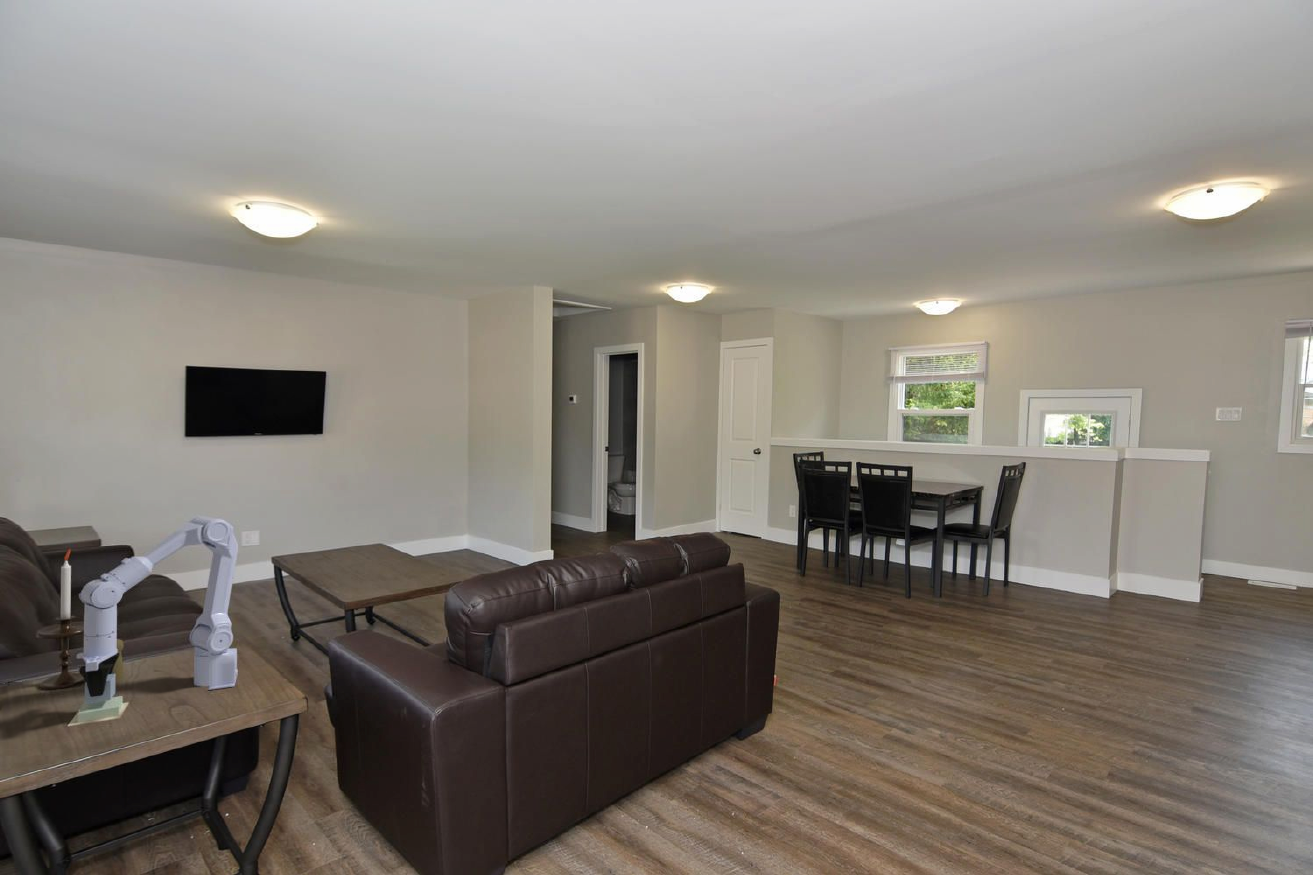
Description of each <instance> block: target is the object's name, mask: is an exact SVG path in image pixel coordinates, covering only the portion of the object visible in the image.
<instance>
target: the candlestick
mask: <svg viewBox="0 0 1313 875" xmlns="http://www.w3.org/2000/svg"><path fill="white" fill-rule="evenodd" d="M70 554H71V548H69V549H68V551H67V552H66V553H65V556H64V563H63V565H61V567H60V569H61V570H60V616H58V617H56V618H55V619H54V621H59V623H56V624H52V625H47V626H44V627H41V628H39V629H37V630H36V632H35V633H36V635H35V636H36V638H39V639H44V640H45V639H47V640H49V639H51V640H52V639H53V640H54V639H59V640H60V639H61V652H58V654H57V658H59V659H60V662H59V663H58V666H59V667H61V669H60V673H59V675H55V676H51V677H49V678H47V679H45V680H43V681H42V682H40V689H41V690H43V689H45V691H56V690H57V689H59V690H63V689H64V690H65V689H69V688H73V687H77V686H79V685H82V684H85V683H86V681H85V679H84V678H83V676H82V675H81V674H80V672H72V673H71V672H70V671H69V666H70V665H72V661H70V658H71V657H72V656H73V652H72V650H69V646H70V645H69V640H70V638H72V637H74V636H79V635H81V634H82V635H84V620H83V621H82V620H81V621H72V619H75V618H76V617H77V616H76V615H71V604H72V603H71V600H72V599H71V598H72V597H71V592H72V591H71V590H72V589H71V588H72V587H71V586H72V585H71V584H72V580H71V579H72V578H71V576H72V565H70V564H69V561H68V559H69V557H70ZM57 691H58V690H57Z"/></svg>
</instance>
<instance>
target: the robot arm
mask: <svg viewBox="0 0 1313 875" xmlns="http://www.w3.org/2000/svg"><path fill="white" fill-rule="evenodd" d="M234 528H235V527H234V526H232V525H231V524H230V523H229V522H228V521H226V520H225V519H222V518H214V517H208V516H205V515H199V516H195V517H193V518H191V519H190V520H189V521H187V522H185V523H183V524H181V525H180V526H179V528H178V529H177V530H176V531H174V532H173V533H171V534H170V535H169V536H167V537H166V538H164V539H163V540H162V541H161V542H159V543H158V544H157V545H155V546H154V547H152V548H151V549H150V550H149V551H148V552H147V551H146V553H145V554H143V555H141V556H131V557H130V558H127V557H126V558H123V560H121V561H120V563H121V564H119V565H118V566H117V567H115V568H114V569H112V570H111V571H109V572H108V573H103V574H101V575H100V576H99V577H100V579H94V580H90V581H89V582H88V583H86V584H85V585H84V586H83V589H82V590H81V592H80V593H78V598H79V599H80V601H81V602H82V603H83V604H84V615H83V621H84V633H83V652H79V653H77V654H76V659H83V661H84V662H85V665H83V666H80V667H79V668H78V671H79V672H78V673H80V674H81V675H82V676H83V678H84V679H85V681H86V682H85V683H86V684H87V687H88V690H89V694H90V696H91V697H95V696H102V695H103V693H104V690H105V685H106V680H107V676H108V674H112V672H113V668H114V666H115V663H116V661H117V659H118V657H119V656H120V653H117V652H118V649H117V639H118V638H117V637H118V636H117V635H118V634H117V632H118V631H117V629H118V628H117V627H118V626H117V625H118V618H117V617H118V606H117V604H118V603H119V602H120V601H121V599H123V595H124V593H126V592H128V591H129V590H130V589H132V588H133V587H134V586H136V585H138V584H139V583H141V582H142V581H143V580H145V579H146V578H148V577H149V576H150V575H151V574H152V572H153V568H154V567H155V566H156V565H157V564H159V563H161V562H162V561H164V560H165V559H167V558H168V557H171V555H173V554H175V553H176V552H178V551H180V550H182V549H183V548H184V547H187V546H197V545H199V546H200V545H204V546H205V547H206V548H207V549H208V550H210V551H211V553H212V559H211V563H210V564H211V565H210V569H209V570H210V571H209V576H208V580H207V586H206V587H207V588H206V591H205V592H206V593H205V598H204V603H203V610H202V613H201V614H200V615H199V616H198V617H197V618H196V621H195V622H196V623H195V626H194V627H193V629H192V630H191V631H190V633H189V641H190V643H191V645H192V646H194V652H193V653H194V655H193V657H194V658H193V659H194V660H193V662H194V663H193V684H194V686H196V687H208V691H210V690H212V691H213V690H218V689H225V688H230V687H235V685H236V681H237V677H238V673H239V670H238V649H237V648H236V647H235V648H233V647H232V648H230V647H231V645H232V644H233V640H234V635H233V632H232V626H233V624H232V621H231V619H230V617H229V615H228V613H229V612H228V611H229V606H230V600H231V594H232V587H233V582H234V577H235V571H236V565H237V558H238V554H239V544H238V541H237V539H236V536H235V534H234Z"/></svg>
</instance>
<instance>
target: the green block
mask: <svg viewBox="0 0 1313 875" xmlns="http://www.w3.org/2000/svg"><path fill="white" fill-rule="evenodd" d="M123 699H124V698H123V695H118V696H113V697H112V698H111V700H107V701H100V702H93V703H86V704H85V701H84V702H83V703H82V704H81V707H80V709H79V710H80V711H79V710H78V711H79V713H78V723H80V722H86V721H91V720H97V719H102V718H108V717H114V716H119V713H120V710H121V707H122V703H124V702H123Z"/></svg>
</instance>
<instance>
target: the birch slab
mask: <svg viewBox="0 0 1313 875" xmlns="http://www.w3.org/2000/svg"><path fill="white" fill-rule="evenodd" d="M129 703H130V702H129V701H127V702H123V703H122V707H121V710H120V713H119V716H114V717H108V718H102V719H97V720H91V721H86V722H80V723H78V713H79V711H80V709H79V710H78V711H77V712H76V714H75V715H74V717H72V719H71V720H70V722H69V723H68V724H67V727H72V726H79V725H87V724H91V723H92V724H93V723H99V722H104V721H105V722H106V721H111V720H112V721H113V720H118V719H121V717H122V715H123V714H124V712H125V710H126V708H127V706H128V705H129Z"/></svg>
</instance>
